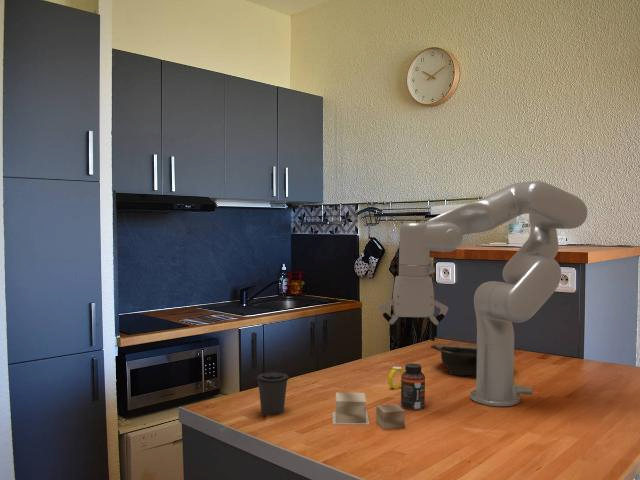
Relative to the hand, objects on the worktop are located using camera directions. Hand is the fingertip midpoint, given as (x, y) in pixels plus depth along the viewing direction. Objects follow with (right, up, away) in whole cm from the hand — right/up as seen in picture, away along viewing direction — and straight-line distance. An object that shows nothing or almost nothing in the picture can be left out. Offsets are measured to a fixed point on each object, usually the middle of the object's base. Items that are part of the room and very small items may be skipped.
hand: (412, 339), depth 143 cm
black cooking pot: (+25, -17, +40) cm, 50 cm away
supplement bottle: (0, -18, +1) cm, 18 cm away
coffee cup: (-35, -18, -4) cm, 40 cm away
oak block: (-7, -18, -13) cm, 23 cm away
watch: (-1, -18, +20) cm, 26 cm away
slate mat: (-14, -18, -7) cm, 24 cm away
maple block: (-16, -17, -8) cm, 25 cm away
